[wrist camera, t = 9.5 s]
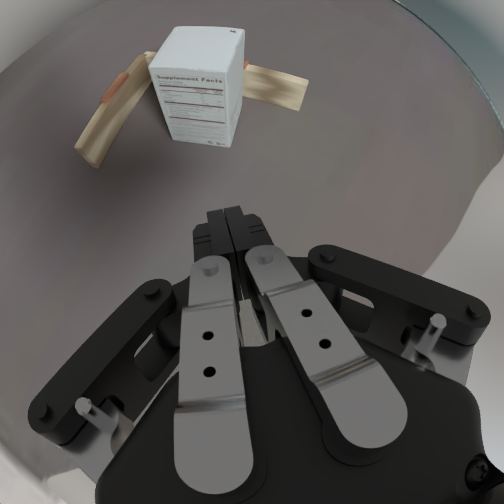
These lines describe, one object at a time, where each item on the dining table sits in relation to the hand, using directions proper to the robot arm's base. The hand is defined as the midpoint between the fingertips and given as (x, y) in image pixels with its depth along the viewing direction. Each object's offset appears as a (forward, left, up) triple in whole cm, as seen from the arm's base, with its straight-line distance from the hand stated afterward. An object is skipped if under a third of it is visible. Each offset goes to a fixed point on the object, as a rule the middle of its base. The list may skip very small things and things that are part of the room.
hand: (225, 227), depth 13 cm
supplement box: (-9, +16, -16) cm, 25 cm away
